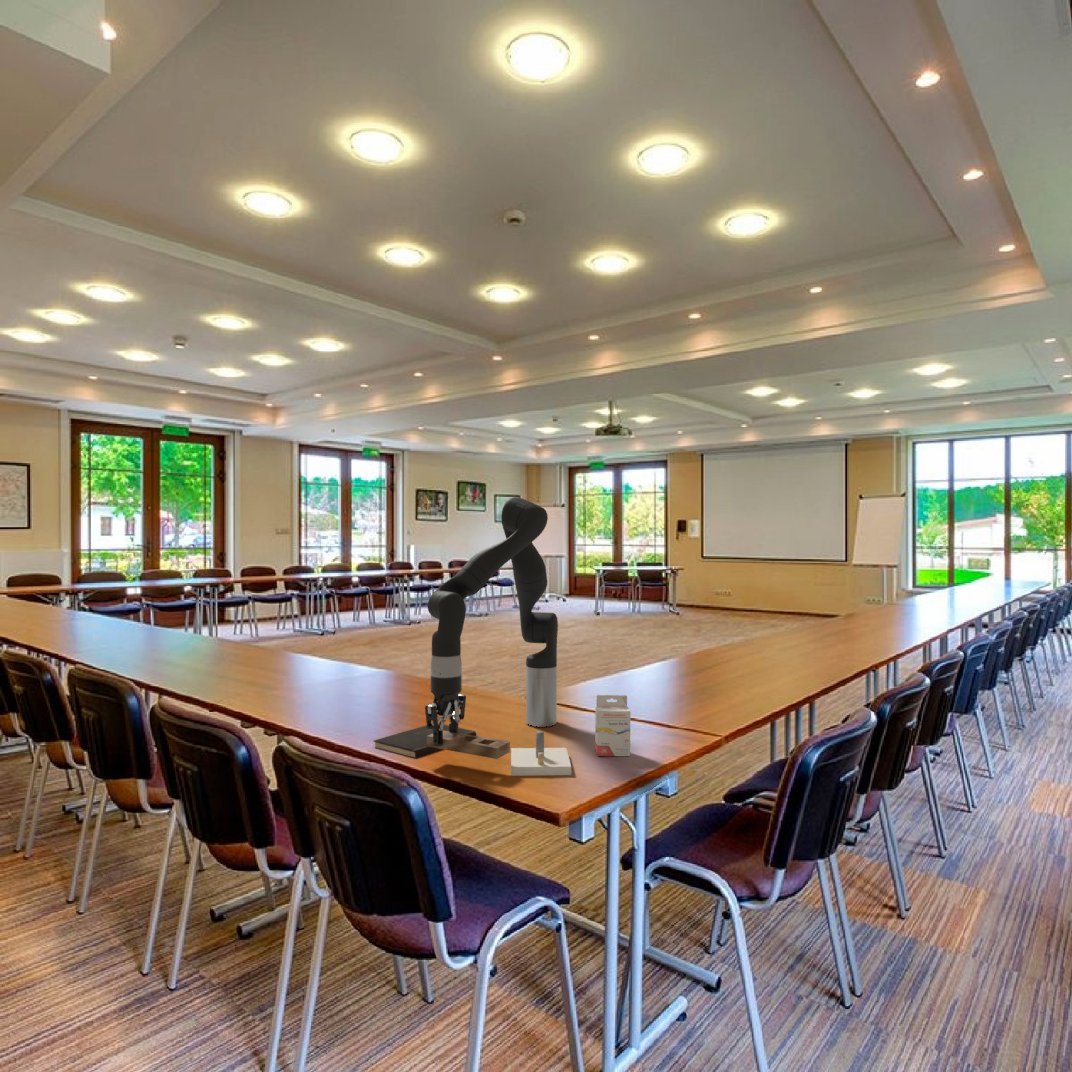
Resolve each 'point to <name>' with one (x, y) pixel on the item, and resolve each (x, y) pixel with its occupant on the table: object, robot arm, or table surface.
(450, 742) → the walnut bar
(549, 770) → the post base
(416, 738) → the hardcover book
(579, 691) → the table surface
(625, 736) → the ink cartridge box
